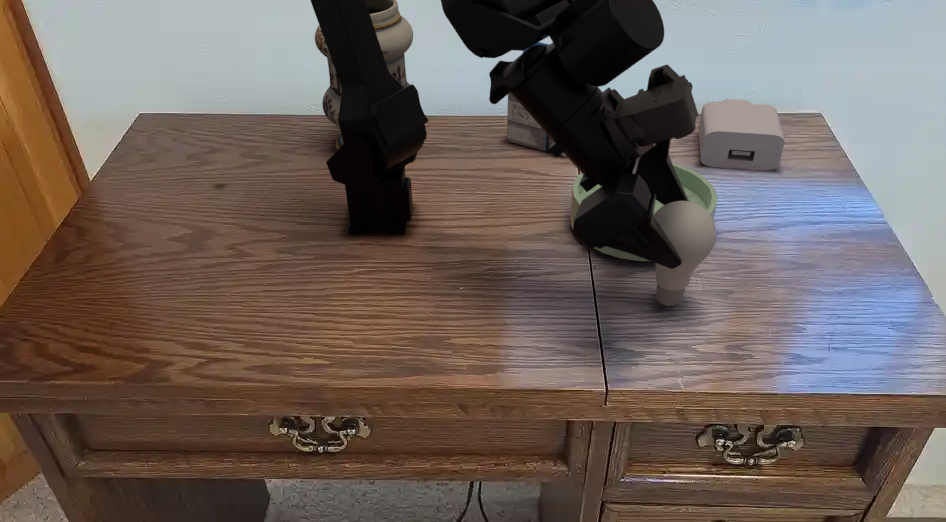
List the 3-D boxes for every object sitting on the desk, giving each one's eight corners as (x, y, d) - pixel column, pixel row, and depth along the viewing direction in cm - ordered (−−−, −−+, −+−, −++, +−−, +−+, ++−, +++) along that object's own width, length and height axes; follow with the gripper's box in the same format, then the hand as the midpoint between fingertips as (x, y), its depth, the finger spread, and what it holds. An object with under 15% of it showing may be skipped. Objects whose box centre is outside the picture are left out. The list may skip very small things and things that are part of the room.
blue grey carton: (505, 142, 104) (506, 48, 96) (519, 131, 107) (522, 38, 99) (566, 158, 101) (573, 61, 93) (579, 146, 103) (587, 51, 95)
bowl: (574, 265, 83) (577, 228, 80) (566, 192, 94) (568, 157, 91) (722, 267, 82) (731, 229, 79) (695, 192, 94) (702, 158, 91)
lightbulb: (629, 315, 76) (644, 215, 69) (643, 280, 80) (659, 183, 73) (694, 329, 74) (716, 229, 67) (704, 293, 79) (726, 195, 72)
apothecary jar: (350, 174, 98) (332, 25, 87) (314, 137, 106) (293, -4, 95) (436, 150, 103) (430, 6, 91) (395, 116, 111) (385, -20, 99)
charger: (765, 119, 109) (777, 171, 97) (695, 115, 110) (699, 166, 99) (773, 85, 106) (786, 135, 94) (701, 81, 107) (706, 130, 96)
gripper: (629, 94, 56) (758, 249, 61) (660, 11, 70) (764, 142, 74) (518, 180, 63) (642, 313, 68) (566, 89, 77) (666, 205, 81)
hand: (682, 237), depth 72 cm, fingers open, 9 cm apart
